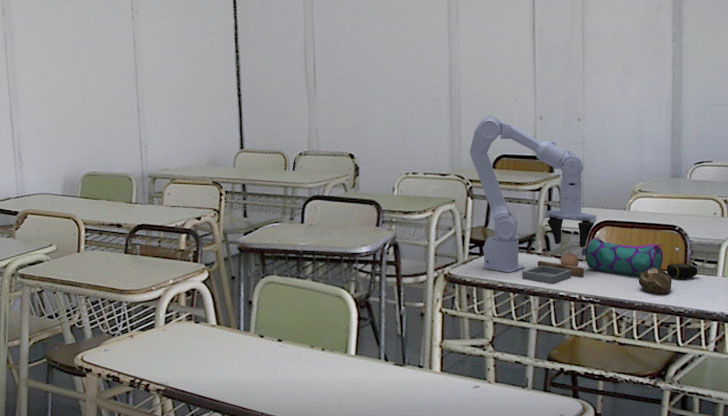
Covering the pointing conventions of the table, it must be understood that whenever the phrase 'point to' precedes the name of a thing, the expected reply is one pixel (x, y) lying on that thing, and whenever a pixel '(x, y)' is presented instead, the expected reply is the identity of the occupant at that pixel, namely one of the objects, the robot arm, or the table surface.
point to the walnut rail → (574, 270)
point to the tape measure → (681, 270)
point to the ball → (569, 259)
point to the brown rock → (655, 281)
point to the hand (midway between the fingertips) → (570, 245)
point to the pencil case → (622, 257)
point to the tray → (546, 274)
